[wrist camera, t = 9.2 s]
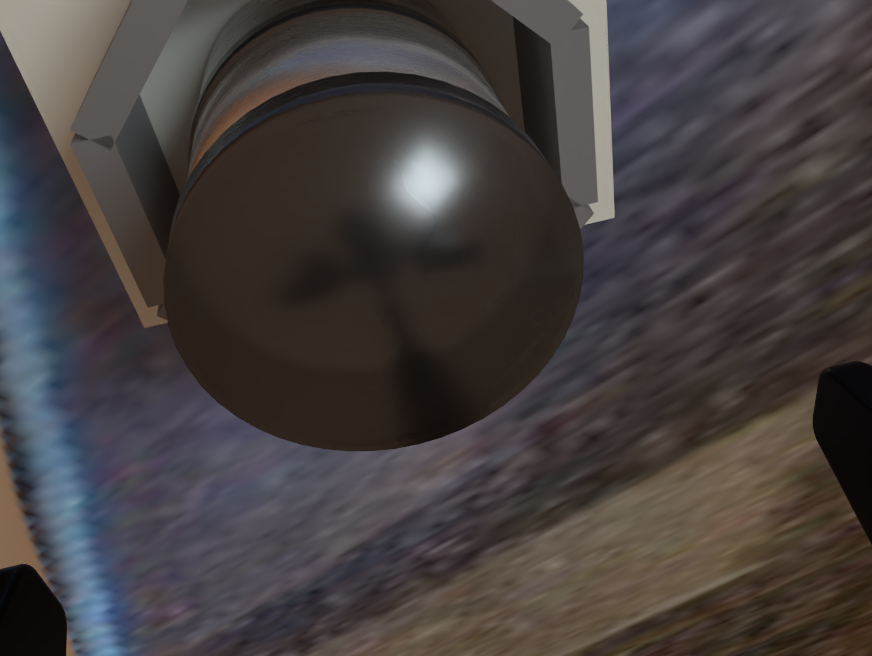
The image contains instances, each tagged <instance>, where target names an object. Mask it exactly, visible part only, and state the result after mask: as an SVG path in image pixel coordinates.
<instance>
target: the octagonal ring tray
mask: <svg viewBox="0 0 872 656" xmlns="http://www.w3.org/2000/svg"><path fill="white" fill-rule="evenodd" d="M249 1H250V0H0V31H1V33H2V35H3V37H4V40H5V42H6V44H7V46H8V48H9V50H10V52H11V54H12V56H13V58H14V60H15V62H16V64H17V66H18V68H19V70H20V73H21V75H22V77H23V79H24V81H25V83H26V85H27V87H28V89H29V91H30V93H31V95H32V97H33V99H34V101H35V103H36V106H37V108H38V110H39V112H40V114H41V116H42V118H43V120H44V122H45V124H46V126H47V128H48V130H49V132H50V134H51V136H52V139H53V141H54V143H55V145H56V147H57V149H58V151H59V153H60V155H61V157H62V159H63V161H64V163H65V165H66V167H67V169H68V172H69V174H70V176H71V178H72V180H73V182H74V184H75V186H76V188H77V190H78V192H79V194H80V196H81V198H82V200H83V202H84V205H85V207H86V209H87V211H88V213H89V215H90V217H91V219H92V221H93V223H94V225H95V227H96V229H97V231H98V233H99V235H100V238H101V240H102V242H103V244H104V246H105V248H106V250H107V252H108V254H109V256H110V258H111V260H112V262H113V264H114V266H115V268H116V271H117V273H118V275H119V277H120V279H121V281H122V283H123V285H124V287H125V289H126V291H127V293H128V295H129V297H130V299H131V301H132V303H133V306H134V308H135V310H136V312H137V314H138V316H139V318H140V320H141V322H142V324H143V326H144V328H147V327H152V326H156V325H160V324H164V323H168V320H167V315H166V310H165V305H164V282H163V278H164V271H165V263H166V256H167V250H168V244H169V238H170V232H171V226H172V220H173V217H174V214H175V210H176V207H177V204H178V200H179V197H180V195H181V193H182V191H183V188H184V186H185V184H186V182H187V178H188V149H189V142H190V135H191V128H192V122H193V116H194V113H195V110H196V106H197V103H198V99H199V96H200V92H201V85H202V79H203V74H204V70H205V67H206V63H207V60H208V57H209V55H210V53H211V50H212V48H213V46H214V44H215V42H216V40H217V38H218V37H219V35H220V34H221V32H222V30H223V29H224V27H225V26H226V24H227V23H228V22H229V21H230V20H231V19H232V17H233V16H234V15H235V14H236V13H237V12H238V11H239V10H240V9H241V8H242V7H243V6H244V5H245V4H247V3H248V2H249ZM427 1H429V2H430V3H431V4H432V5H434V6H435V7H436V8H437V9H438V10H439V11H440V12H441V13H442V14H443V16H444V17H445V18H446V19H447V20H448V21H449V22H450V24H451V25H452V27H453V28H454V30H455V31H456V32H457V34H458V35H459V37H460V38H461V40H462V42H463V43H464V45H465V46H466V47H467V48H468V49H469V51H470V52H471V53H472V54H473V55H474V56H475V58H476V59H477V61H478V62H479V64H480V65H481V66H482V68H483V69H484V71H485V72H486V74H487V75H488V77H489V78H490V80H491V82H492V83H493V85H494V87H495V89H496V91H497V93H498V95H499V97H500V99H501V101H502V103H503V106H504V109H505V110H506V112H507V114H508V115H509V117H510V118H512V119H513V120H514V121H515V122H516V123H517V124H518V125H519V126H520V127H521V128H522V129H523V130H524V131H525V132H526V134H527V135H528V136H529V137H530V138H531V139H532V140H533V142H534V143H535V145H536V146H537V148H538V149H539V150H540V152H541V153H542V155H543V156H544V157H545V159H546V161H547V162H548V164H549V165H550V167H551V168H552V170H553V171H554V173H555V174H556V176H557V178H558V179H559V181H560V182H561V184H562V185H563V187H564V189H565V191H566V193H567V195H568V197H569V199H570V201H571V203H572V205H573V207H574V211H575V214H576V217H577V220H578V224H579V227H580V230H581V228H582V227H583V226H584V225H585V224H590V223H594V222H598V221H602V220H607V219H611V218H615V215H614V189H613V163H612V137H611V111H610V85H609V58H608V32H607V6H606V0H427Z"/></svg>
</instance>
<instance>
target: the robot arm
mask: <svg viewBox="0 0 872 656" xmlns="http://www.w3.org/2000/svg"><path fill="white" fill-rule="evenodd" d="M813 429H814V434H815V437H816V439H817V441H818V444H819V445H820V447H821V449H822V451H823V453H824V455H825V457H826V459H827V461H828V463H829V465H830V467H831V468H832V470H833V472H834V474H835V476H836V478H837V480H838V482H839V484H840V486H841V488H842V489H843V491H844V493H845V495H846V497H847V499H848V501H849V503H850V505H851V507H852V509H853V511H854V512H855V514H856V516H857V518H858V520H859V522H860V524H861V526H862V528H863V530H864V532H865V534H866V535H867V537H868V539H869V541H870V543H871V544H872V366H871V365H869V364H866V363H863V362H859V361H853V362H849V363H845V364H841V365H837V366H832V367H828V368H826V369H824V370H823V371H822V373H821V374H820V376H819V380H818V387H817V394H816V400H815V407H814V413H813ZM66 640H67V622H66V616H65V612H64V609H63V607H62V605H61V603H60V602H59V601H58V599H57V598H56V597H55V595H54V594H53V593H52V591H51V590H50V589H49V587H48V586H47V585H46V583H45V582H44V581H43V579H42V578H41V577H40V575H39V574H38V573H37V571H36V570H35V569H34V568H33V567H32V566H30V565H27V564H20V565H16V566H12V567H7V568H3V569H0V656H66Z"/></svg>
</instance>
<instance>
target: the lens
mask: <svg viewBox="0 0 872 656" xmlns="http://www.w3.org/2000/svg"><path fill="white" fill-rule="evenodd" d="M583 260H584V251H583V244H582V237H581V231H580V227H579V224H578V220H577V217H576V214H575V211H574V207H573V205H572V203H571V201H570V199H569V197H568V195H567V193H566V191H565V189H564V187H563V185H562V184H561V182H560V181H559V179H558V178H557V176H556V174H555V173H554V171H553V170H552V168H551V167H550V165H549V164H548V162H547V161H546V159H545V157H544V156H543V155H542V153H541V152H540V150H539V149H538V148H537V146H536V145H535V143H534V142H533V140H532V139H531V138H530V137H529V136H528V135H527V134H526V132H525V131H524V130H523V129H522V128H521V127H520V126H519V125H518V124H517V123H516V122H515V121H514V120H513V119H512V118H510V117H509V115H508V114H507V112H506V110H505V109H504V106H503V103H502V101H501V99H500V97H499V95H498V93H497V91H496V89H495V87H494V85H493V83H492V82H491V80H490V78H489V77H488V75H487V74H486V72H485V71H484V69H483V68H482V66H481V65H480V64H479V62H478V61H477V59H476V58H475V56H474V55H473V54H472V53H471V52H470V51H469V49H468V48H467V47H466V46H465V45H464V43H463V42H462V40H461V38H460V37H459V35H458V34H457V32H456V31H455V30H454V28H453V27H452V25H451V24H450V22H449V21H448V20H447V19H446V18H445V17H444V16H443V14H442V13H441V12H440V11H439V10H438V9H437V8H436V7H435V6H434V5H432V4H431V3H430V2H429V1H427V0H250V1H249V2H248V3H247V4H245V5H244V6H243V7H242V8H241V9H240V10H239V11H238V12H237V13H236V14H235V15H234V16H233V17H232V19H231V20H230V21H229V22H228V23H227V24H226V26H225V27H224V29H223V30H222V32H221V34H220V35H219V37H218V38H217V40H216V42H215V44H214V46H213V48H212V50H211V53H210V55H209V57H208V60H207V63H206V67H205V70H204V74H203V79H202V85H201V92H200V96H199V99H198V103H197V106H196V110H195V113H194V116H193V122H192V128H191V135H190V142H189V149H188V178H187V182H186V184H185V186H184V188H183V191H182V193H181V195H180V197H179V200H178V204H177V207H176V210H175V214H174V217H173V220H172V226H171V232H170V238H169V244H168V250H167V256H166V263H165V271H164V278H163V282H164V305H165V310H166V315H167V320H168V325H169V329H170V331H171V334H172V337H173V340H174V342H175V345H176V348H177V350H178V351H179V353H180V355H181V357H182V359H183V360H184V362H185V364H186V366H187V368H188V369H189V370H190V372H191V373H192V374H193V376H194V377H195V378H196V380H197V381H198V382H199V383H200V385H201V386H202V387H203V388H204V389H205V390H206V391H207V392H208V393H209V394H210V395H211V396H212V397H213V398H214V399H215V400H216V401H217V402H218V403H219V404H221V405H222V406H223V407H225V408H226V409H227V410H229V411H230V412H231V413H233V414H234V415H235V416H237V417H238V418H240V419H242V420H244V421H245V422H247V423H249V424H250V425H252V426H254V427H256V428H258V429H260V430H262V431H265V432H267V433H269V434H271V435H274V436H276V437H278V438H282V439H285V440H288V441H291V442H295V443H298V444H301V445H307V446H312V447H317V448H322V449H330V450H341V451H377V450H387V449H396V448H401V447H406V446H412V445H417V444H421V443H424V442H428V441H431V440H434V439H438V438H441V437H444V436H446V435H449V434H451V433H454V432H456V431H459V430H461V429H464V428H466V427H468V426H469V425H471V424H473V423H475V422H477V421H479V420H481V419H483V418H485V417H486V416H488V415H489V414H491V413H493V412H494V411H496V410H497V409H499V408H500V407H502V406H503V405H505V404H506V403H507V402H508V401H510V400H511V399H512V398H513V397H515V396H516V395H517V394H518V393H520V392H521V391H522V390H523V389H524V388H525V387H526V386H527V385H528V384H529V383H530V382H531V381H532V380H533V379H534V378H535V377H536V376H537V375H538V374H539V373H540V371H541V370H542V369H543V368H544V366H545V365H546V364H547V363H548V361H549V360H550V359H551V358H552V356H553V355H554V353H555V351H556V350H557V348H558V347H559V345H560V343H561V342H562V340H563V339H564V337H565V335H566V332H567V330H568V328H569V326H570V324H571V322H572V319H573V317H574V314H575V311H576V307H577V304H578V301H579V298H580V292H581V286H582V280H583Z"/></svg>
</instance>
